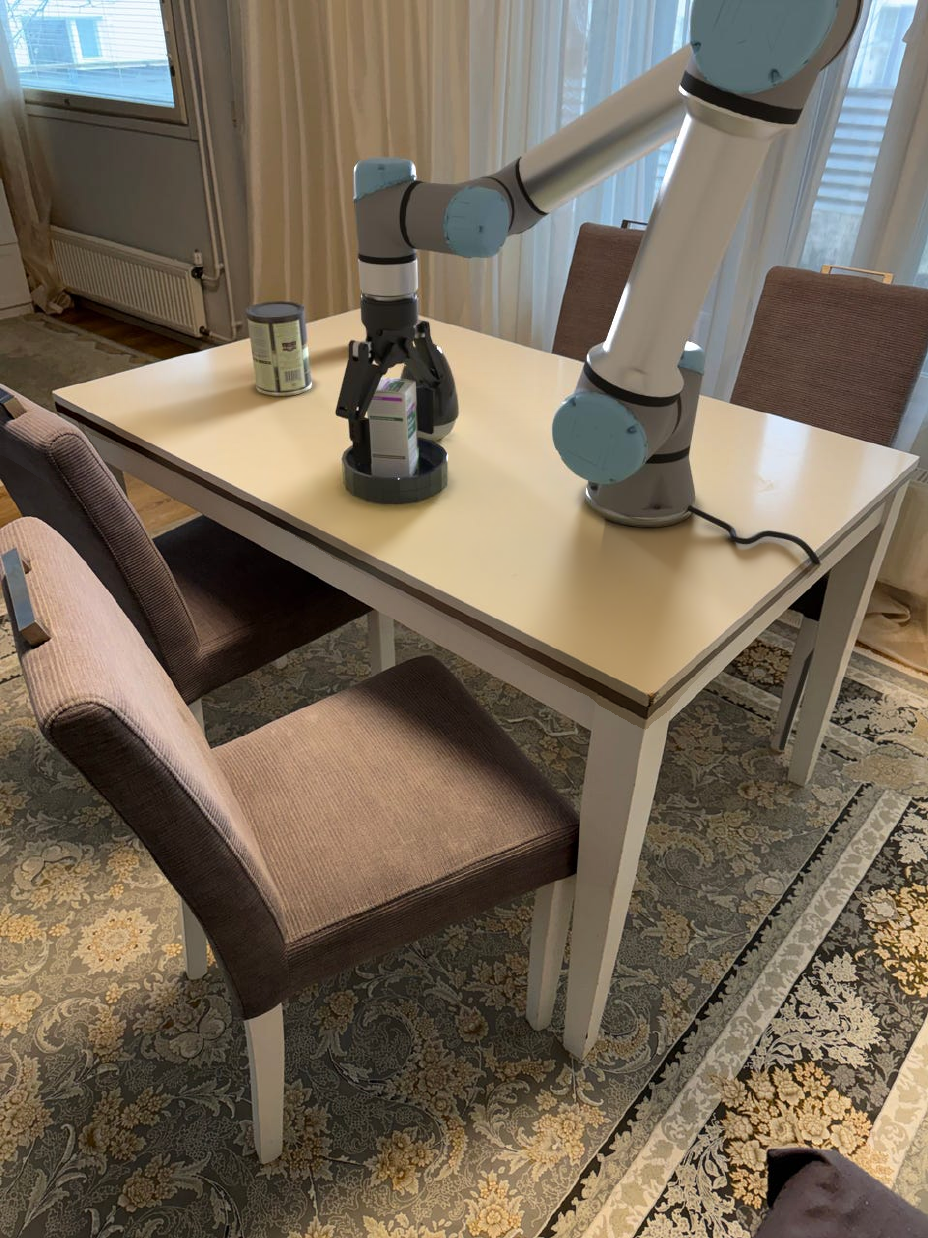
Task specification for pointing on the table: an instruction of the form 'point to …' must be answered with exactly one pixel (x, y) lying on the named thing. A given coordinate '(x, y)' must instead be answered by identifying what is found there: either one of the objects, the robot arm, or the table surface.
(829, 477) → the table surface
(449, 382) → the pump dispenser
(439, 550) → the table surface
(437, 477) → the bowl
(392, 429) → the syrup box
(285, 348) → the coffee can
